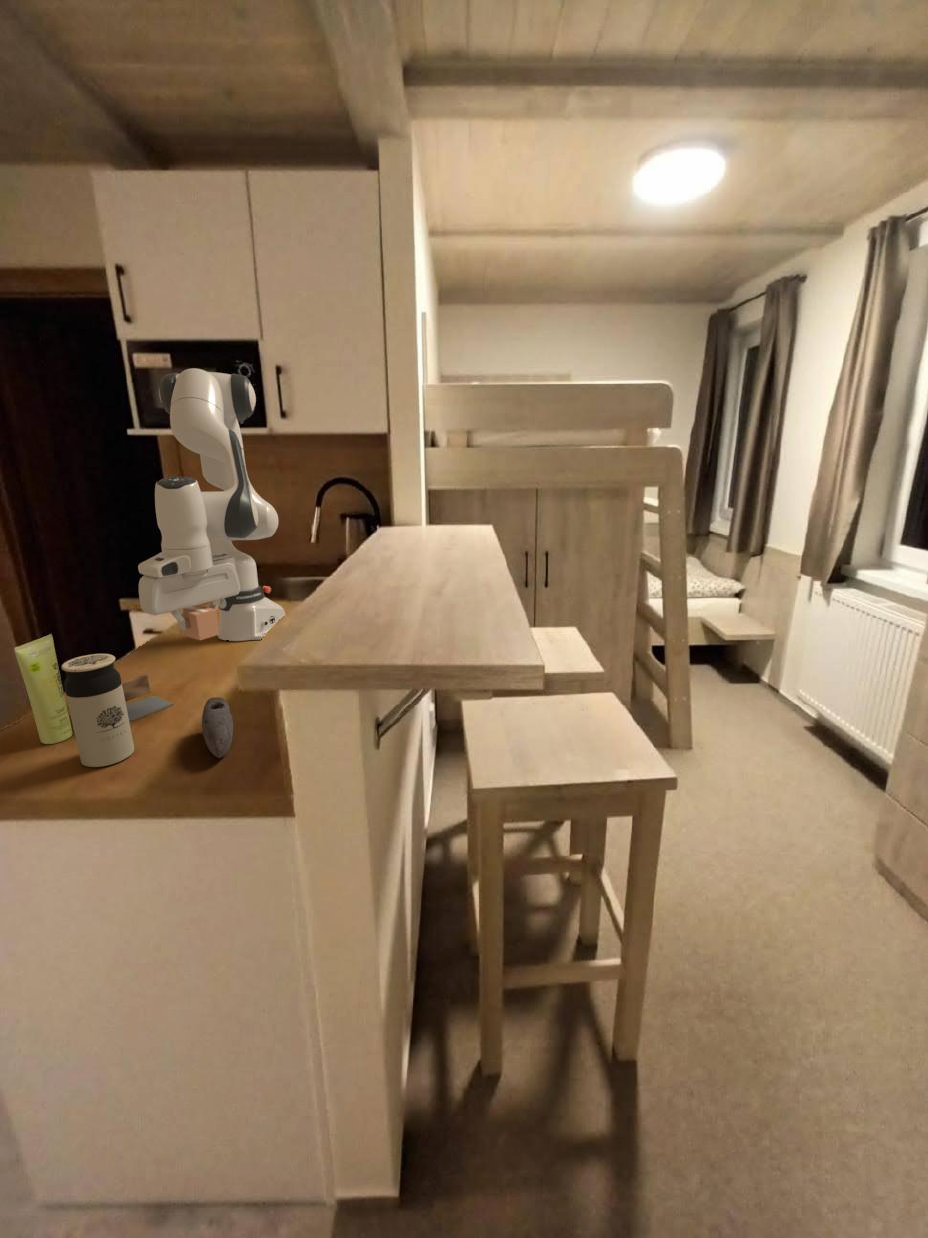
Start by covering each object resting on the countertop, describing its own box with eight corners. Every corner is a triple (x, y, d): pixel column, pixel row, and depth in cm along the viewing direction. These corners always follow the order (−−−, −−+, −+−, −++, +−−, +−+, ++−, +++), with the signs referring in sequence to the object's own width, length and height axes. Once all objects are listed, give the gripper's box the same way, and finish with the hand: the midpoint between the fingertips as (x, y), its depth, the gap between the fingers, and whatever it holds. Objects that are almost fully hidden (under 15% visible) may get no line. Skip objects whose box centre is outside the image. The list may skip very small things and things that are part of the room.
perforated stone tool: (235, 762, 94) (231, 726, 92) (202, 769, 92) (196, 732, 90) (234, 725, 107) (230, 692, 105) (205, 729, 105) (200, 697, 103)
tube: (72, 741, 101) (50, 642, 95) (38, 749, 98) (13, 647, 93) (73, 729, 105) (51, 633, 100) (41, 736, 103) (16, 638, 97)
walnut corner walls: (147, 691, 122) (144, 674, 121) (182, 705, 116) (180, 687, 114) (75, 716, 111) (71, 698, 109) (110, 733, 104) (106, 714, 103)
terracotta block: (199, 628, 119) (195, 603, 117) (219, 634, 115) (215, 608, 113) (180, 634, 115) (175, 608, 113) (199, 640, 111) (195, 614, 110)
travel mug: (77, 756, 96) (55, 661, 91) (127, 740, 101) (110, 649, 96) (87, 774, 90) (64, 674, 85) (140, 756, 96) (122, 661, 91)
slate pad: (153, 697, 119) (153, 695, 119) (173, 705, 116) (173, 703, 116) (105, 714, 111) (105, 712, 111) (124, 723, 108) (124, 722, 107)
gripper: (224, 550, 120) (231, 610, 124) (129, 567, 104) (141, 635, 108) (242, 553, 117) (249, 614, 121) (147, 571, 100) (159, 641, 105)
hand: (198, 624), depth 114 cm, fingers closed on terracotta block, 4 cm apart
